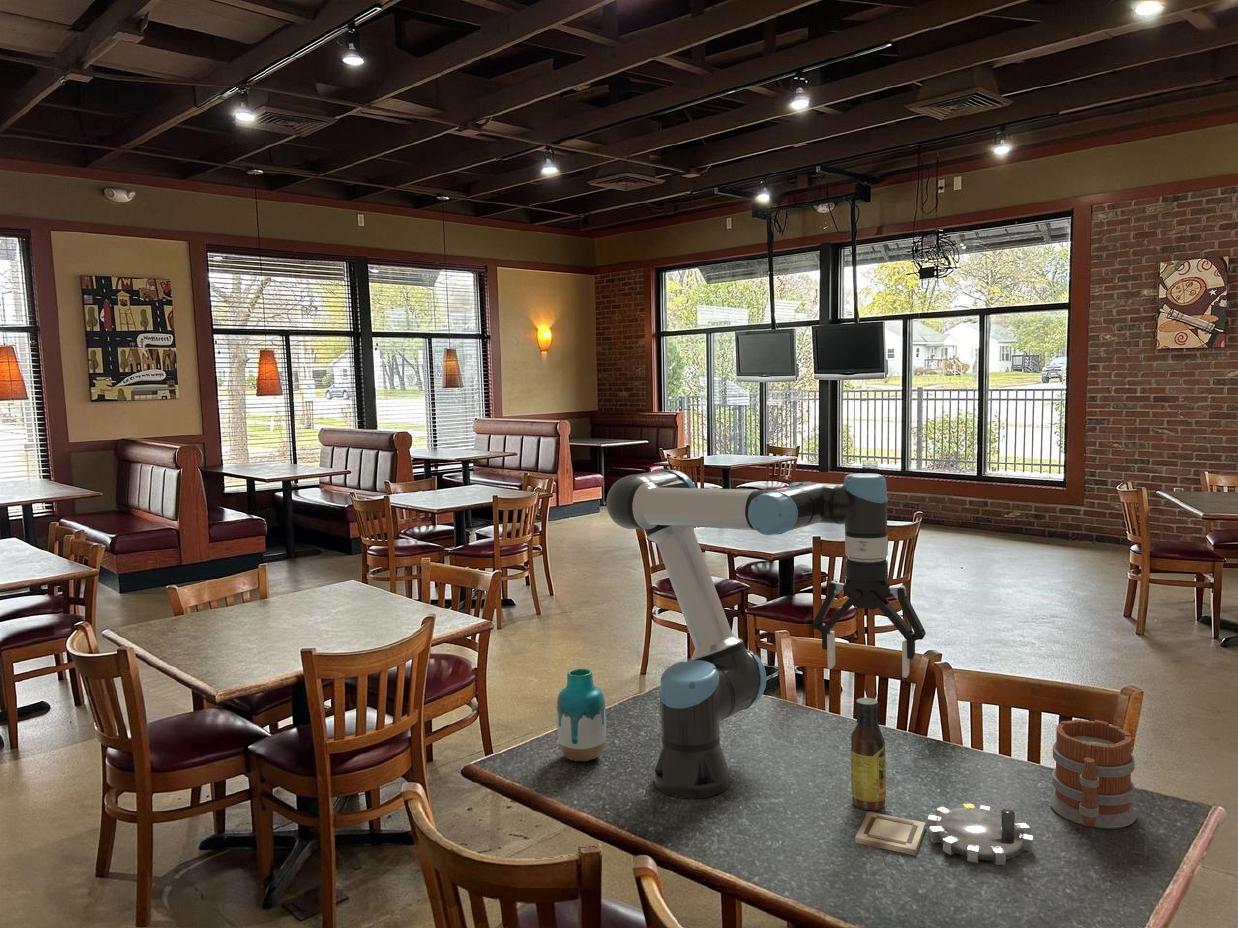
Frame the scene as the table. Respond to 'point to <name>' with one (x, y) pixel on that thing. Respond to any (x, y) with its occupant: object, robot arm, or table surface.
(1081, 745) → the mug
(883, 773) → the sauce bottle
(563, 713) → the vase
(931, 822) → the sprocket
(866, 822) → the marked pad
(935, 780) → the table surface
